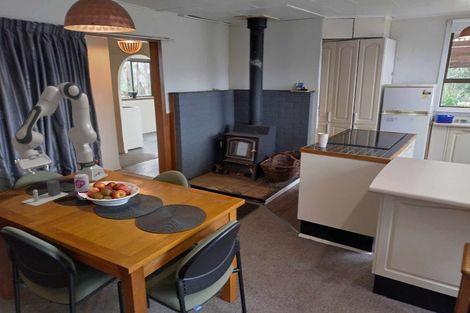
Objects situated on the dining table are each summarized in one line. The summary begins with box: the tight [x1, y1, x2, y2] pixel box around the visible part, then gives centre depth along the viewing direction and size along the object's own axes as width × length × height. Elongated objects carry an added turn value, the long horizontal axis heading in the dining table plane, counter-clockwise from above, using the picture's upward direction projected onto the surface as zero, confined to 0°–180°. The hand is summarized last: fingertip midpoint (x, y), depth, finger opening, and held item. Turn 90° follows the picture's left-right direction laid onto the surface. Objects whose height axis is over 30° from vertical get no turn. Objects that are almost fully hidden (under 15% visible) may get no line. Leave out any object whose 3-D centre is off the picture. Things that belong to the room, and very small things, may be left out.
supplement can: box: [73, 173, 91, 201], centre depth 208 cm, size 8×8×15 cm
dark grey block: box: [46, 179, 62, 197], centre depth 210 cm, size 5×5×9 cm
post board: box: [22, 189, 69, 207], centre depth 205 cm, size 22×14×8 cm, turn 154°
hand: (41, 173), depth 212 cm, fingers open, 8 cm apart
